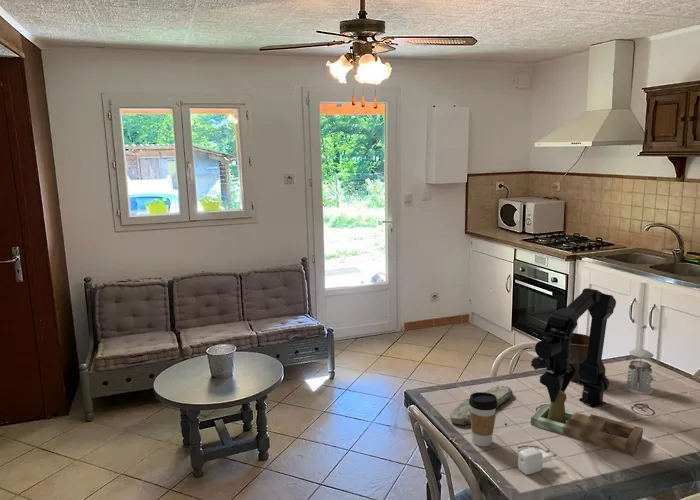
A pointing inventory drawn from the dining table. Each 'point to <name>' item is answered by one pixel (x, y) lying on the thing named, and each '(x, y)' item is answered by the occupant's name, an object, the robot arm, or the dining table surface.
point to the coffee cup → (482, 417)
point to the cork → (558, 409)
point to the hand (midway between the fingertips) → (557, 397)
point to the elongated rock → (463, 410)
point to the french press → (639, 371)
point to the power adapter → (533, 460)
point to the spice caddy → (592, 429)
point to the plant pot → (578, 351)
